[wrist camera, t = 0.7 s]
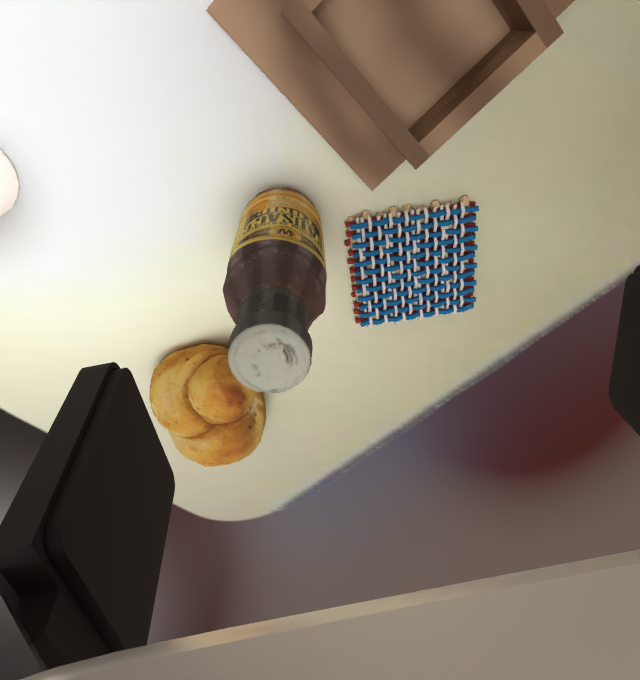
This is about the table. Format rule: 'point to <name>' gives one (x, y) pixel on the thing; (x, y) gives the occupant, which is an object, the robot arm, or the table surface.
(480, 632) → the robot arm
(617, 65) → the table surface
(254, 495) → the table surface
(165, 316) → the table surface
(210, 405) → the bread roll
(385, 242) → the woven mat
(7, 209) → the beer glass
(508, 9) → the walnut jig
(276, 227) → the sauce bottle
